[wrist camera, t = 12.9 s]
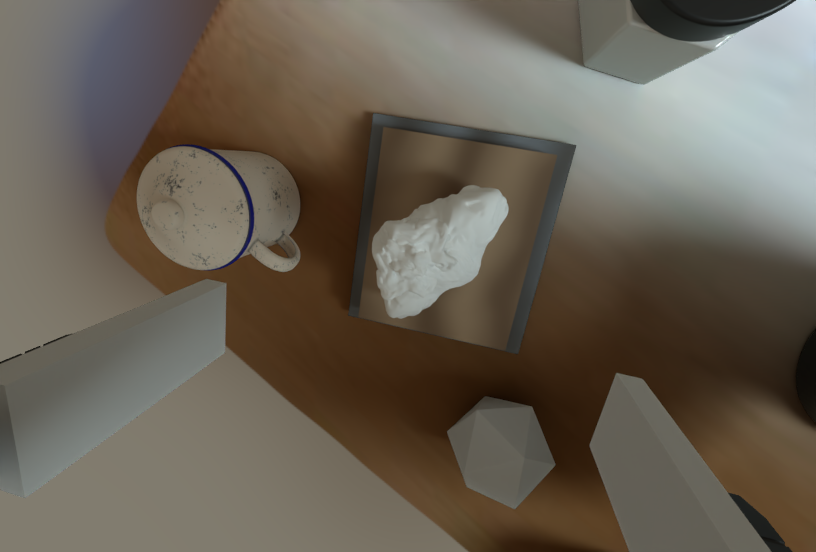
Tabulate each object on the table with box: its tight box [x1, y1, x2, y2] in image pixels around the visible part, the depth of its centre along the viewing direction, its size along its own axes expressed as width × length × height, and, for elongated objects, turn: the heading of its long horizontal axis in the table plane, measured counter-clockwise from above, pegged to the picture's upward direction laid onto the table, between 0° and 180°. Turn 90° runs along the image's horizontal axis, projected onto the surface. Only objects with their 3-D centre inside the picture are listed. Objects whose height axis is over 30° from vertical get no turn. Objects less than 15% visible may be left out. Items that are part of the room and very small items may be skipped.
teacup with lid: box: [137, 145, 300, 272], centre depth 31 cm, size 12×9×12 cm
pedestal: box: [348, 113, 576, 354], centre depth 33 cm, size 16×18×3 cm
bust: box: [372, 185, 509, 319], centre depth 27 cm, size 12×8×11 cm
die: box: [447, 396, 556, 509], centre depth 35 cm, size 8×9×10 cm
